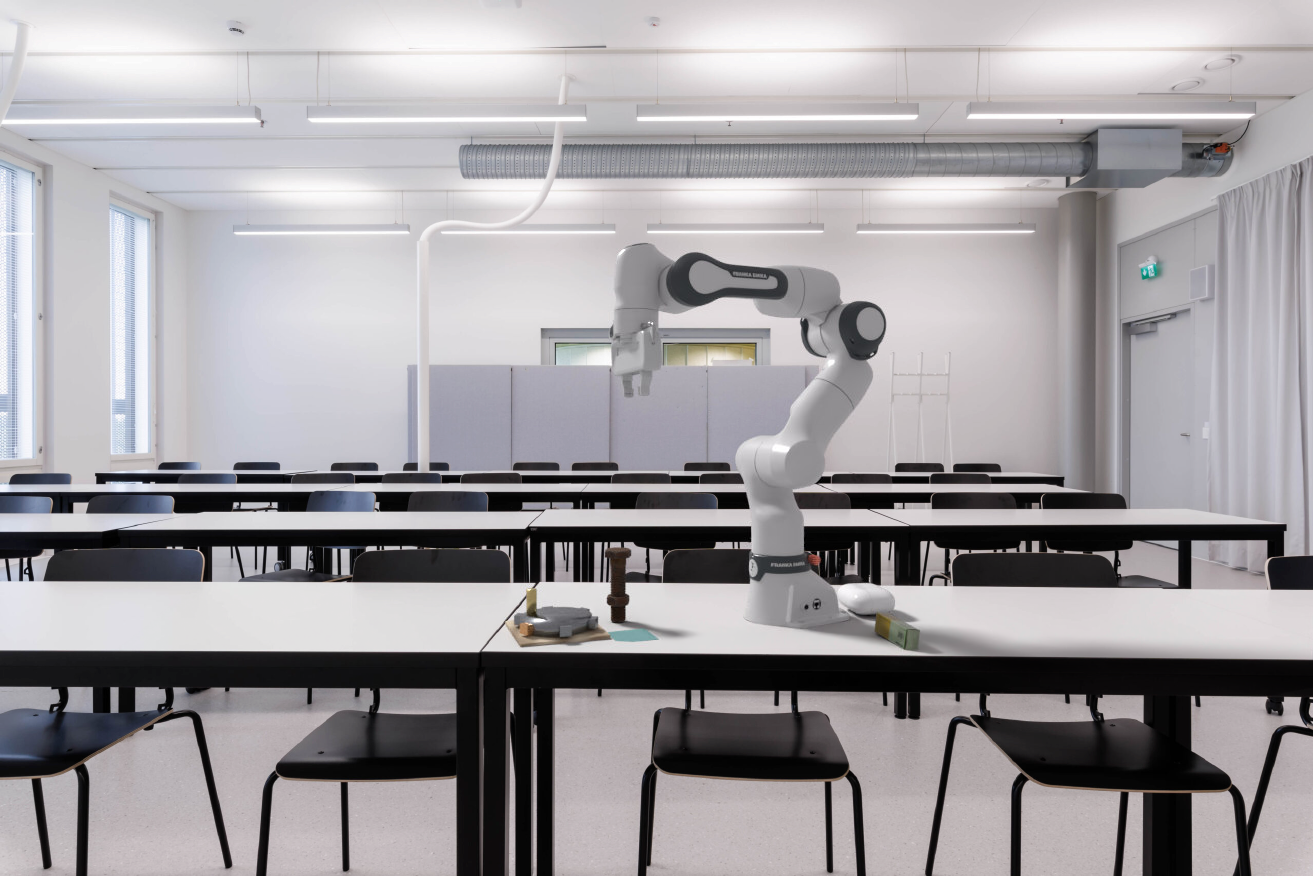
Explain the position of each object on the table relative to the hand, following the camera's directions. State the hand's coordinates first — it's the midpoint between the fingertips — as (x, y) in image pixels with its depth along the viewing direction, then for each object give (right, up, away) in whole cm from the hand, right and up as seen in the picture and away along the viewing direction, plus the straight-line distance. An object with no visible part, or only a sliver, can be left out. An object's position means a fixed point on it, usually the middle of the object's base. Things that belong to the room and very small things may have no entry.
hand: (635, 396), depth 145 cm
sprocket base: (-16, -46, -2) cm, 49 cm away
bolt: (-4, -46, +7) cm, 47 cm away
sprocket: (-16, -45, -2) cm, 48 cm away
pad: (-1, -46, -4) cm, 47 cm away
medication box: (+49, -47, -7) cm, 68 cm away
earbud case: (+50, -46, +17) cm, 70 cm away
